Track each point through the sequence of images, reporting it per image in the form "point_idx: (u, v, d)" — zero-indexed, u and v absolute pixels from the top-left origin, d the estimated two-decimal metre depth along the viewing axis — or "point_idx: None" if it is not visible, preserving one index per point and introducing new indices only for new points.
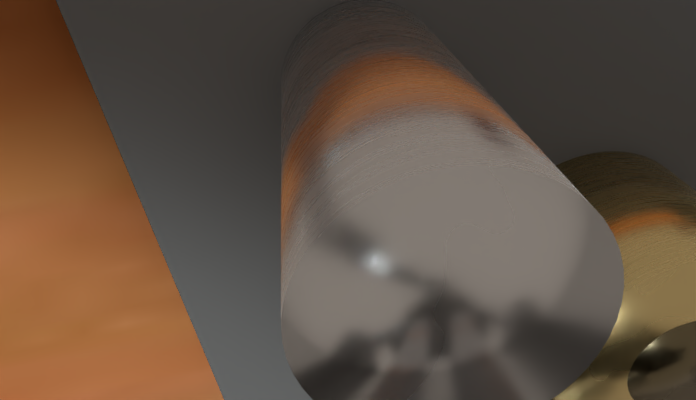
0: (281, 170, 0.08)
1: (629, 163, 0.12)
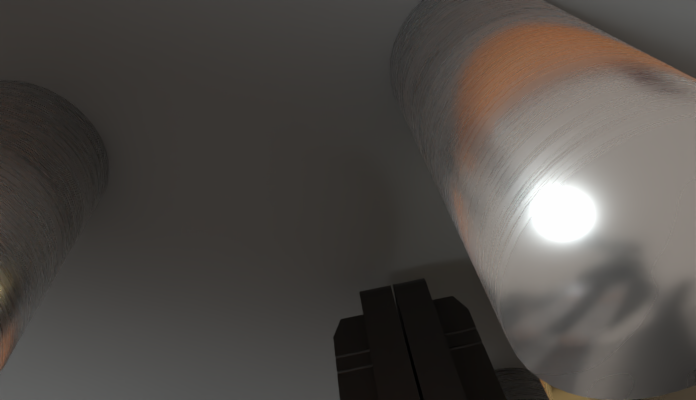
0: None
1: None
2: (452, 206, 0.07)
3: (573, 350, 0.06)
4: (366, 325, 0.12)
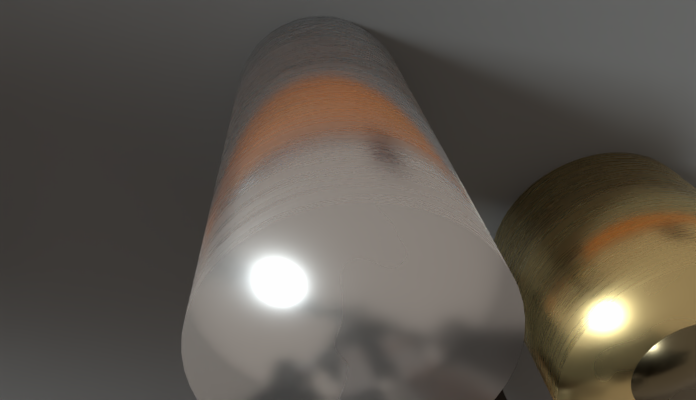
0: None
1: (637, 164, 0.12)
2: None
3: None
4: None
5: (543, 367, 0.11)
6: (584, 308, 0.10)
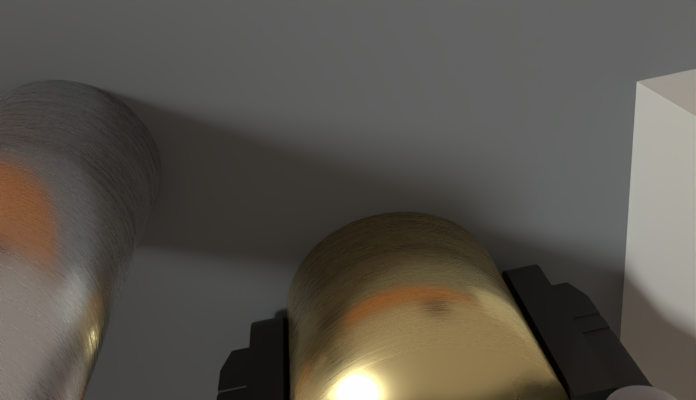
0: None
1: (414, 227, 0.12)
2: None
3: None
4: (249, 359, 0.11)
5: None
6: (309, 395, 0.09)
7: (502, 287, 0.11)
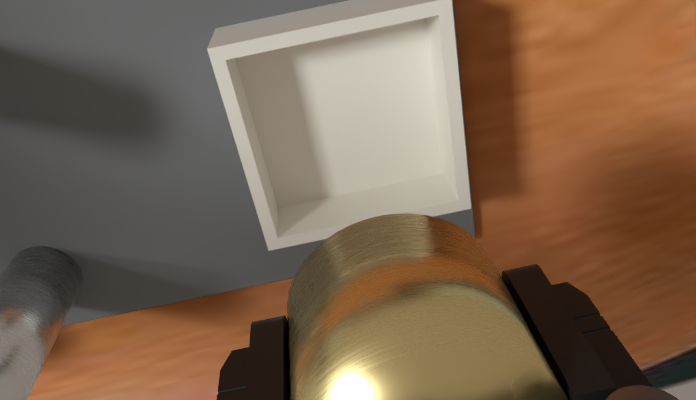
0: None
1: (415, 229, 0.12)
2: None
3: None
4: (249, 359, 0.11)
5: None
6: (309, 396, 0.10)
7: (502, 289, 0.11)
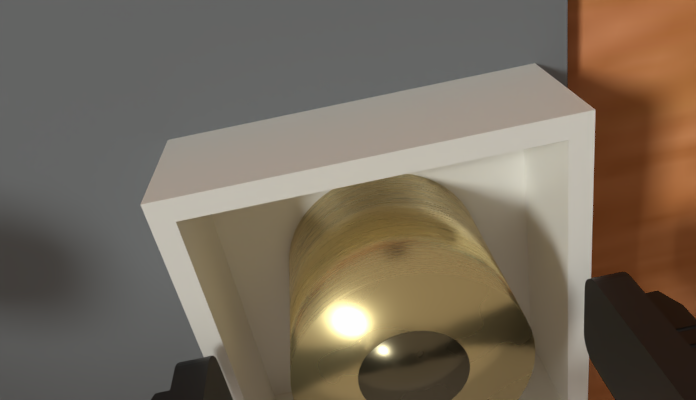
0: None
1: (401, 184, 0.13)
2: None
3: None
4: None
5: None
6: (306, 318, 0.11)
7: (476, 235, 0.13)
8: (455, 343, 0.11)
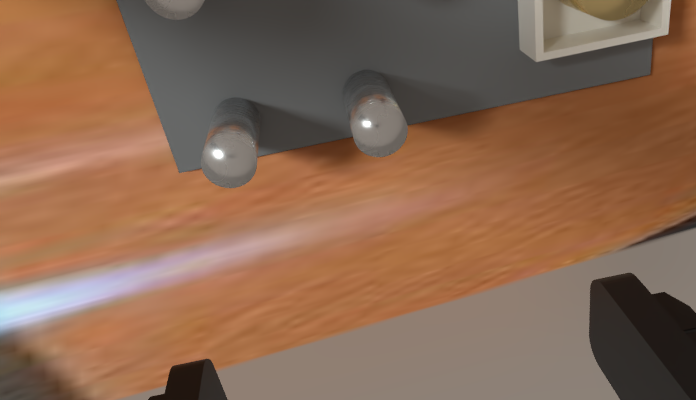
0: None
1: None
2: None
3: None
4: None
5: None
6: None
7: None
8: None
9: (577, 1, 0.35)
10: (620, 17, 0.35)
